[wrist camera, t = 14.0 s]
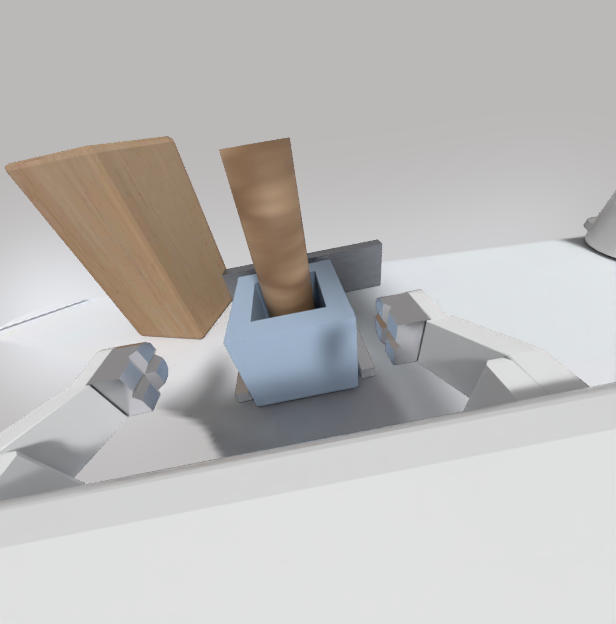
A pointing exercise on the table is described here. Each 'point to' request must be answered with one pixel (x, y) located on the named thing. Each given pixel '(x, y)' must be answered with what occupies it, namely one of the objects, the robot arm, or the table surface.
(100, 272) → the wooden block
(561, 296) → the table surface
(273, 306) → the dowel
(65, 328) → the table surface
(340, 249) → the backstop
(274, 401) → the blue hollow square block
